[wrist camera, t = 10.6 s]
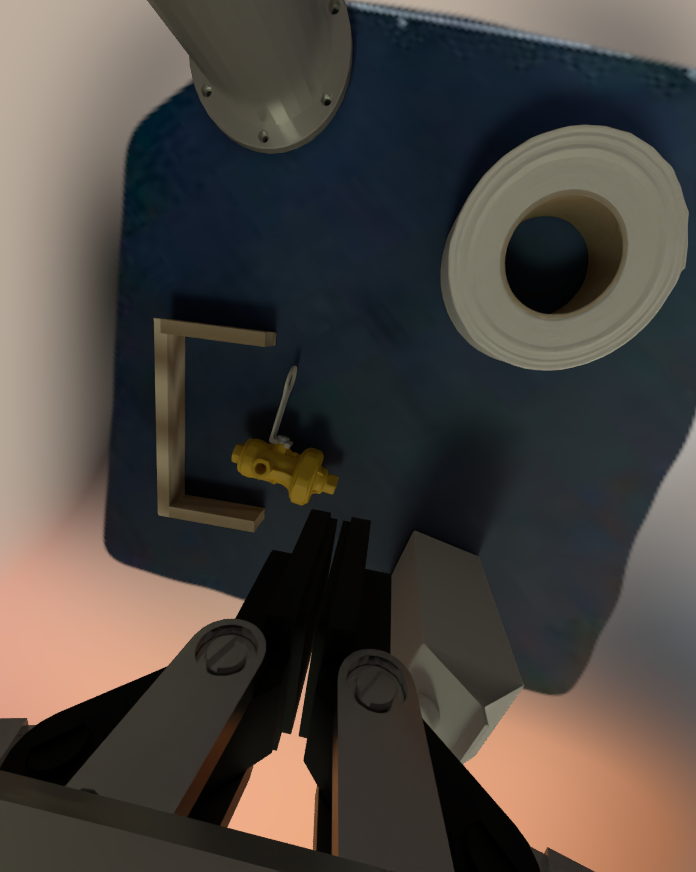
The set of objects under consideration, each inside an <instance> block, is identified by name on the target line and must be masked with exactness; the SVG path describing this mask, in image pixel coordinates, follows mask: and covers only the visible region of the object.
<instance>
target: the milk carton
mask: <svg viewBox="0 0 696 872" xmlns="http://www.w3.org/2000/svg"><path fill="white" fill-rule="evenodd" d="M391 577H392V587H391V655H393V656H394V657H396V658H397V659H398V660H399V661H401V662H402V663H403V664H404V665H405V666H406V668H407V669H408V671H409V672H410V673H411V675H412V678H413V681H414V683H415V686H416V691H417V696H418V701H419V705H420V710H421V715H422V718H423V719H424V721H425V722H426V723H427V724H428V725H429V726H430V727H431V729H432V730H433V731H434V732H435V733H436V734H437V735H438V737H439V738H440V739H441V740H442V741H443V742H444V744H445V745H446V746H447V747H448V748H449V749H450V750H451V752H452V753H453V754H454V755H455V756H456V757H457V759H458V760H459V761H460V762H461V763H462V764H464V763H465V762H467V761H468V760H470V759H471V758H473V757H474V756H475V755H476V754H477V752H478V751H479V750H480V748H481V747H482V745H483V744H484V742H485V741H486V740H487V738H488V737H489V735H490V734H491V732H492V731H493V730H494V728H495V727H496V725H497V724H498V722H499V721H500V719H501V718H502V716H503V715H504V714H505V712H506V711H507V710H508V708H509V707H510V705H511V704H512V702H513V701H514V700H515V698H516V697H517V695H518V694H519V692H520V691H521V690H522V688H523V686H524V684H523V682H522V679H521V676H520V673H519V670H518V667H517V665H516V662H515V659H514V656H513V653H512V650H511V647H510V645H509V642H508V639H507V636H506V633H505V630H504V628H503V625H502V622H501V619H500V616H499V613H498V611H497V608H496V605H495V602H494V599H493V596H492V594H491V591H490V588H489V585H488V582H487V579H486V576H485V574H484V571H483V568H482V565H481V562H480V559H479V557H478V556H476V555H474V554H471V553H469V552H466V551H464V550H461V549H459V548H456V547H454V546H452V545H449V544H447V543H444V542H442V541H439V540H437V539H435V538H432V537H430V536H427V535H425V534H422V533H420V532H417V531H413V533H412V535H411V537H410V539H409V541H408V543H407V545H406V547H405V549H404V551H403V553H402V555H401V557H400V559H399V561H398V563H397V565H396V567H395V569H394V571H393V573H392V575H391Z"/></svg>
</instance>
